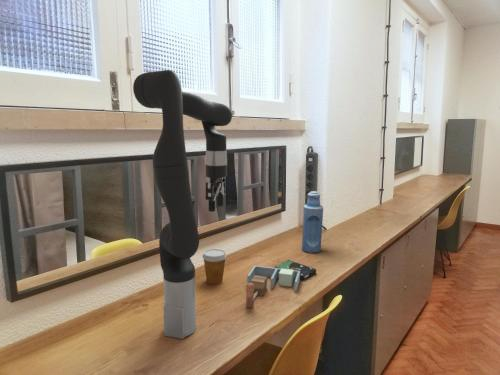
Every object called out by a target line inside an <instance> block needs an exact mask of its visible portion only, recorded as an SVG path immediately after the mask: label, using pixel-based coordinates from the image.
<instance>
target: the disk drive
mask: <svg viewBox="0 0 500 375" xmlns="http://www.w3.org/2000/svg"><path fill="white" fill-rule="evenodd" d="M274 268H280V269H281V268H282V269H290V270H297V271H300V281H301V282H304V281H306V280H307V279H309V278H311V277H313V276H315V275H316V274H317V269H316V268H314V267H311V266H307V265H305V264H303V263H299V262H296V261H293V260H289V259H287V260H286V261H284V262H281V263H280V264H278V265H275V267H274Z"/></svg>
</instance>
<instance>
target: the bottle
mask: <svg viewBox="0 0 500 375" xmlns="http://www.w3.org/2000/svg"><path fill="white" fill-rule="evenodd" d="M323 216H324V206H323V205H321V194H320V192H318V191H317V190H316V191H315V190H312V191H309V192H308V193H307V200H306V204H304V205H303V216H302V218H303V220H302V221H303V222H302V235H301V236H302V237H301V250H302V251H303V252H304V253H307V254H318V253H320V252H322V234H323V222H324V221H323V220H324V219H323Z"/></svg>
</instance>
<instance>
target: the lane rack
mask: <svg viewBox="0 0 500 375" xmlns="http://www.w3.org/2000/svg"><path fill="white" fill-rule="evenodd" d="M280 270H281V269H280V268H275V267H271V266H270V267H269V266H263V265H262V266H261V265H253V267H252V268H251V270H250V271H249V272H248V274H247V280H246V281H247V283H251V279H252V278H253V277H254V275H257V276H264V277H267V278H270V285H269V286H270V289H271V290H273V289H274V286H275V284H276V282H277V280H278V279H279V272H280ZM293 281H294V288H293V290H294V292H295V293H297V291H298V288H299V284H300V281H301V280H300V271H297V270H294V272H293ZM247 283H246V284H247Z"/></svg>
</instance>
